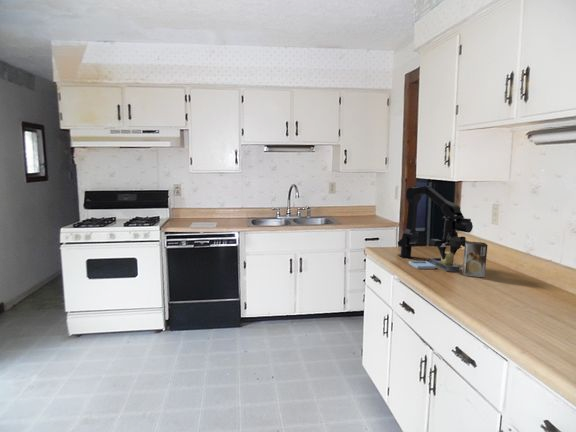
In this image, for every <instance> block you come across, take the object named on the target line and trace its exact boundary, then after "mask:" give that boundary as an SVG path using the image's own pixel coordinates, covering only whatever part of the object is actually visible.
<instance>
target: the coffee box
mask: <svg viewBox="0 0 576 432" xmlns="http://www.w3.org/2000/svg"><path fill="white" fill-rule="evenodd" d="M487 255H488V244H487V243H485V242H481V241H468V240H466V241H465V247H464V249H463V258H462V259H463V261H462V269H461V270H462V271H461V273H462V275H464V277H465V276H466V277H475V278H476V277H477V278H478V277H479V278H485V277H486V265H487Z"/></svg>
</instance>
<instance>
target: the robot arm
mask: <svg viewBox="0 0 576 432" xmlns="http://www.w3.org/2000/svg"><path fill="white" fill-rule="evenodd" d="M424 195H426V196H427V197H428V198H429V199H430V200H431V201H433V202H434V203H435V204H436V205H438V206H439V207H440V210H441V211H442V213H443V214H444V215H443V216H442V217H441V220H444V226H443V227H444V228H443V230H442V233H443V237H442V238H441V240H440V239H438V238H430V239H429V243H428V244H429V245H431V246H432V247H437V250H439V254H440V256H442V259H444V257H445V252H446V250H447V248H448V247H447V246H446V245H448V246H449V245H450V246H449V248H450V250H449V252H451V253H454V256H455V255H456V253H457V251H458V250H459V249H461V248H462V247H464V248H465V241H467V240H466V239H467V238H466V236H459V233H458V232H463V233H469V234H470V233H471V232H472V230H473V227H474V225H473V223H472V219H471V218H466V217H464V215H463V213H462V210H461V207H460V205H458V204H457V203H454V202H452V201H450V200H448V199H446V198H445V197H444V196H443V195H441V194H440V193H439V192H437V191H436V190H435V189H434V188H433V187H432V186H431V185H423V186H419V187H417V186H416V187H413V186H412V187H411V186H410V187H409V188H406V192H405V196H406V201H407V205H408V206H407V215H406V217H407V218H406V227H405V229H404V232H403V233H402V236H401V239H399V240H398V241H397V245H398V247H400V253H399V254H397V255H398V256H399V257H401V258H403V259H406V258H408V259H411V258H412V259H413V258H414V256H413V255H412V247H415V245H416V244H417V243H418V240H419V235H420V232H418V231H417V230H416V229H417V227H416V226H417V214H418V206H419V205H418V204H419V202H420V201H421V199H422V196H424ZM457 231H458V232H457Z"/></svg>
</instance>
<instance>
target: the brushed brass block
mask: <svg viewBox="0 0 576 432" xmlns="http://www.w3.org/2000/svg"><path fill="white" fill-rule="evenodd" d="M440 256H441V255H440ZM454 257H455V255H454V253H451V252H450V251H445V257H444V259H442V256H441V257H440V258H441V263H442V264H444V265H453V264H454Z"/></svg>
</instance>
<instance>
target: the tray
mask: <svg viewBox="0 0 576 432" xmlns="http://www.w3.org/2000/svg"><path fill="white" fill-rule="evenodd" d="M408 265H410V266H412V267H413V268H415V269H417V270H436V269H437V266H435V265H433V264H431V263H429V262H428V260H408Z"/></svg>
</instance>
